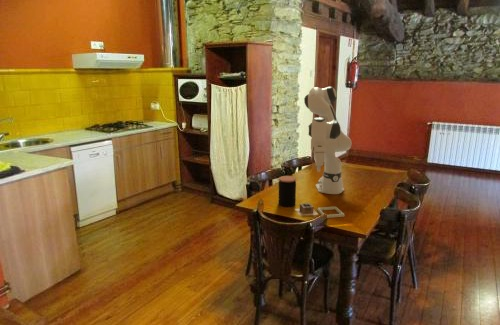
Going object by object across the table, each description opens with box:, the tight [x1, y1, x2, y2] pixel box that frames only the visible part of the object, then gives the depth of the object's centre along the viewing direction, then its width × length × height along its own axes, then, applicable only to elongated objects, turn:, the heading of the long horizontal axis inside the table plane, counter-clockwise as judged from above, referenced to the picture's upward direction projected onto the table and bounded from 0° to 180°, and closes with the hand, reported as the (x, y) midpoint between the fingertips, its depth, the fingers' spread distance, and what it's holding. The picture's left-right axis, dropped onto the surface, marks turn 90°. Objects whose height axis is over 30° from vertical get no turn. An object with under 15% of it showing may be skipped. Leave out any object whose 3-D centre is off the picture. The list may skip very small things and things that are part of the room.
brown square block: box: [299, 202, 315, 214], centre depth 208 cm, size 6×6×4 cm
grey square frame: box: [316, 206, 345, 219], centre depth 206 cm, size 12×12×2 cm
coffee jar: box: [278, 175, 297, 208], centre depth 219 cm, size 11×11×18 cm
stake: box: [294, 204, 320, 217], centre depth 208 cm, size 11×11×6 cm
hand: (318, 169), depth 204 cm, fingers open, 8 cm apart
